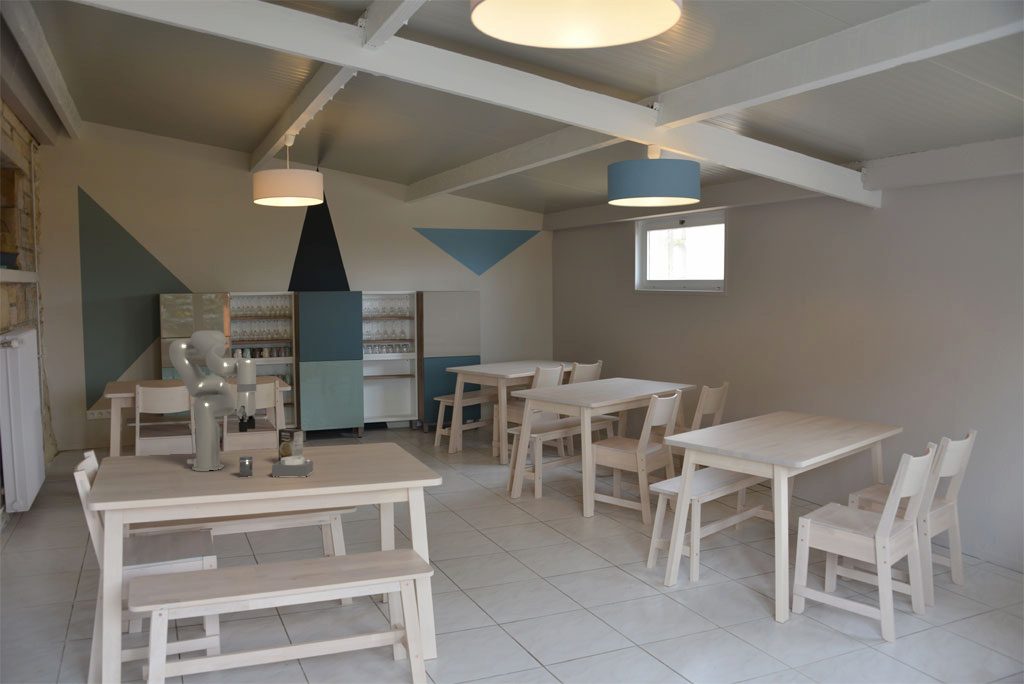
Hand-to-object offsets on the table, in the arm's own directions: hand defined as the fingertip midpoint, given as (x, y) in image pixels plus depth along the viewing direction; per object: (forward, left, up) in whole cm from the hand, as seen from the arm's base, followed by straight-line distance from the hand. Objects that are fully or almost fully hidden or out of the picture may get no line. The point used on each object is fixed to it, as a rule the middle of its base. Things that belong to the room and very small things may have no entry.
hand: (247, 430), depth 310 cm
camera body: (+18, +4, -19) cm, 26 cm away
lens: (0, 0, -19) cm, 19 cm away
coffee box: (+11, +25, -19) cm, 33 cm away
